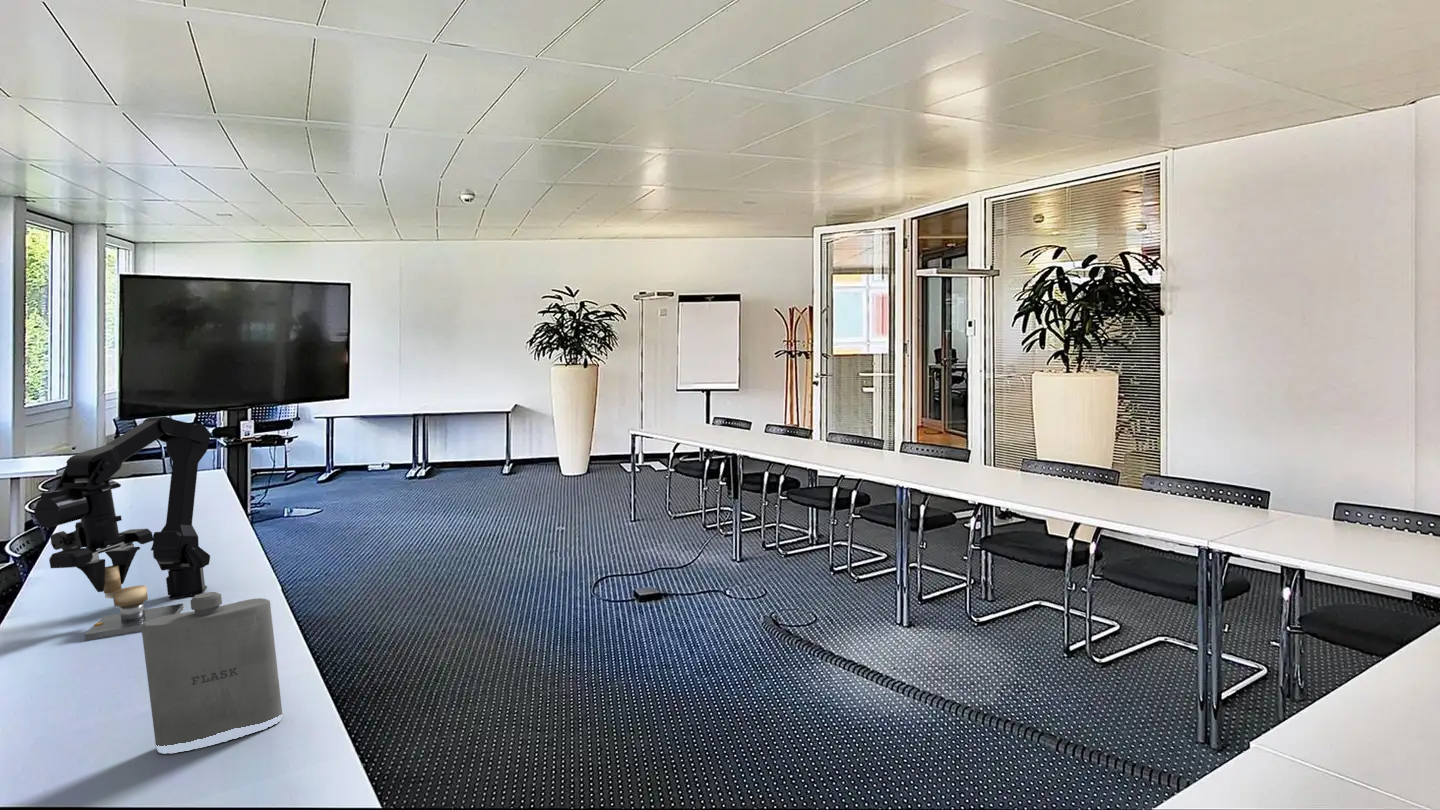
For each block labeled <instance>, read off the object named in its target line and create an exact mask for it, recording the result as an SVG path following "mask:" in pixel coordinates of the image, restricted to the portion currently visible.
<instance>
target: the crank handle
mask: <svg viewBox="0 0 1440 810" xmlns="http://www.w3.org/2000/svg"><path fill="white" fill-rule="evenodd" d="M103 593H104V597H105V599H110V600H111V599H112V600H113V606H114V607H121V606H129V605H134V604H138V603H141V602H143V603H144V602H145V601H146V602H147V600H149V596H148V589H147V585H132V586H127V587H123V588H122V584H121V579H120V571H119V566H118V565H114V566H113V565H108V566H105V585H104V591H103Z"/></svg>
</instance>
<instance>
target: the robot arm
mask: <svg viewBox="0 0 1440 810" xmlns="http://www.w3.org/2000/svg"><path fill="white" fill-rule="evenodd" d="M210 439H211V433H210V430H209V429H208V428H207V427H206V426H205V425H204V424H202V423H191V422H187V421H181V420H177V419H173V418H171V417H169V416H150V417H148V418H145V419H144V420H143V421H142V422H140V424H138V425H136V426H134V427H133V428H131V429H130V430H128V431H126V432H125V433H123V434H121V435H120V436H118V437H116V438H115V439H113V440H112V441H110V442H108V443H106V444H105V445H102V446H98V447H95V448H92V449H89V450H85V451H82V452H79V453H77V454H74V455H72V456H70V457H69V458H68V459H67V461H66V466H65V468H64V470H63V473H62V474H61V477H60V479H59V481H58V482H57V485H56V486H55V489H54V491H53V490H52V491H43V492H41V493H40V498H41V499H40V500H38V501H37V503H36V505H35V509H34V510H33V514H34V517H35V519H36V521H37V522H38V524H40V525H41V526H42V527H44V528H48V529H49V528H50V529H51V528H54V527H57V526H60V525H64V524H68V523H72V522H75V521H78V522H75V525H74V527H75V530H74V531H71V532H69V533H67V532H66V531H65V530H61V531H59V532H55V533H53V534H51V535H50V544H51V546H52V548H53V550H55V551H57V552H54V553H52V554H51V555H50V557H49V558H48V559H49V560H48V561H49V565H50V566H49V567H50V569H66V568H68V569H69V568H77V569H79V570H80V571H81V572H82V573H83V574H84V575H85V576H86V577H87V579H88V580H89V582H90V583H91V584H92V586H93V588H94V589H95V591H96V592H98V593H104V585H105V567H106V559H105V558H101V559H100V555H99V554H102V553H105V554H106V555H107V556H108V558H110V559H111V562H112V563H111V564H112V566H114V565H118V566H119V571H120V579H121V585H123V584H124V583H125V581H126V577H127V575H128V572H129V569H130V567H131V565H132V562H133V560H134V558H135V556H136V553H137V552H138V551H140V550H141V547H140V546H135V544H134V543H136V542H137V543H138V544H140V545H144V544H147V543H150V542H152V547H151V548H150V551H152V556H153V559H154V560H156V562H157V564H158V566H159V568H160V570H161V571H167V573H168V576H167V577H166V578H165V581H166V590H167V595H168V598H169V600H173V599H174V600H176V599H181V598H186V597H194V596H196V595H199V594H202V593H205V591H206V590H207V589H208V586H207V585H206V582H205V576H204V575H205V574H204V568H206V566H209V565H210V561H211V555H210V554H209V553H208V552H206V551H205V550H204V549H203V548H201V547H200V545H199V536H198V533H197V532H196V529H195V528H194V526H193V518H194V517H193V516H194V508H195V507H194V506H195V496H196V495H195V494H196V488H197V477H198V468H199V462H200V461H201V459H202V458H203V457H204V456H205V454H206V453H207V451H208V447H209V445H210ZM156 441H159V442H163V443H164V444H165V448H166V452H167V455H168V456H169V458H170V459H171V462H172V464H171V465H172V466H171V474H170V475H171V476H170V481H169V482H170V484H169V494H168V502H167V509H166V510H167V511H166V512H167V513H166V518H165V519H166V520H165V525H164V526H163V528H162V529H161V531H154V533H153V532H152V531H151V530H150V529H149V528H136V529H135V528H133V529H128V530H124V531H121V532H119V526H118V522H120V521H122V520H123V519H122V515H116V514H117V513H116V509H115V503H114V497H113V492H112V490H113V489H114V490H115V489H118V488H121V486H122V484H121V483H119V482H117V481H115V480H113V478H112V477H113V476H115V474H116V473H118V471H120V470H121V468H122V465H123V463H124V462H125V461H126V460H128V459H129V458H130V457H132V456H133V455H135V454H137V453H138V452H140V451H141V450H142V449H144V448H146V447H147V446H149V445H151V444H152V443H154V442H156ZM60 549H61V550H60ZM58 550H60V551H58Z"/></svg>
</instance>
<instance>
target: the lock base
mask: <svg viewBox="0 0 1440 810" xmlns="http://www.w3.org/2000/svg"><path fill="white" fill-rule="evenodd" d="M183 608H185V607H184V603H177V604H172V605H170V604H169V605H165V606H158V607H153V608H152V607H151V608H145V605H144V602H141V603H138V604H134V605H129V606H121V607H119V613H114V614H108V615H107V614H106V615H103V616H102V618H101V619H99V620H98V621H97V622H95V623H94V624H93V626H92V627H91V628H90V629H88V631H87V632H85V633H84V635H83V637H84V642H85V641H90V640H91V641H92V640H97V639H103V638H111V637H115V636H121V635H127V634H135V633H139V632H142V629H141V626H142V625H143V624H144V623H146V622H147V621H149V620H152V619H155V618H158V617H162V616H167V615H173V614H179V613H180V612H181V611H182V612H183V611H184V609H183ZM182 612H181V613H182Z"/></svg>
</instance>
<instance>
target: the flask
mask: <svg viewBox="0 0 1440 810" xmlns="http://www.w3.org/2000/svg"><path fill="white" fill-rule="evenodd" d="M222 599H223V598H222V594H221V593H219V592H217V591H209V592H204V593H202V594H199V595H194V596H192V598H191V599H190V609H191V610H192V611H187V612H181V613H179V614H173V615H167V616H162V617H158V618H155V619H152V620H149V621H147V622H146V623H144V624H143V625H142V626H141V629H142V631H141V636H142V644H143V652H144V658H145V659H144V661H145V668H146V676H147V677H146V678H147V683H148V692H149V700H150V709H151V716H152V717H151V718H152V726H153V733H154V742H155V746H156V745H157V746H158V745H159V746H164V745H165V746H167V745H174V744H178V743H186V742H191V741H194V740H197V739H203V738H206V737H209V736H213V735H216V734H217V733H221V732H225V731H228V730H231V729H234V728H241V727H246V726H250V725H255V724H260V723H263V722H266V721H268V720H271V719H273V718H275V717H278V716H279V715H281V714H282V715H283V709H282V707H283V706H282V698H281V697H282V696H281V691H280V690H281V688H280V680H279V679H280V678H279V673H278V672H279V671H278V663H277V660H278V659H277V652H276V644H275V634H274V625H273V617H272V609H271V608H272V607H271V600H269V599H266V598H262V597H260V598H258V597H257V598H251V599H245V600H241V601H236V602H232V603H228V604H224V605H223V604H222V603H223V600H222Z"/></svg>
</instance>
